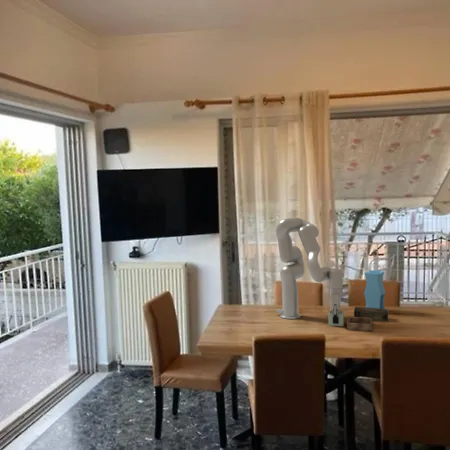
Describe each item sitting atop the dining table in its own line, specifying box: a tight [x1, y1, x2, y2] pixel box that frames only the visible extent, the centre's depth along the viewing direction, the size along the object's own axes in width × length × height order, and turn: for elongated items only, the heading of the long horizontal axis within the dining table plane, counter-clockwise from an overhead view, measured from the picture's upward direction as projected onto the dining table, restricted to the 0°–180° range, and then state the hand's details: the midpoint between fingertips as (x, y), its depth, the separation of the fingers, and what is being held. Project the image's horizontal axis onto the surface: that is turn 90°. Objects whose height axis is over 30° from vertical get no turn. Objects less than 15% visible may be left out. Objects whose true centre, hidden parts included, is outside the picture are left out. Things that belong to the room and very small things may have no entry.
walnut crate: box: [346, 316, 373, 332], centre depth 251 cm, size 13×14×4 cm
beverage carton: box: [353, 306, 389, 322], centre depth 266 cm, size 8×19×7 cm, turn 71°
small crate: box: [327, 310, 345, 327], centre depth 257 cm, size 8×6×7 cm
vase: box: [363, 269, 386, 309], centre depth 282 cm, size 10×10×25 cm
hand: (336, 321), depth 257 cm, fingers closed on small crate, 6 cm apart
